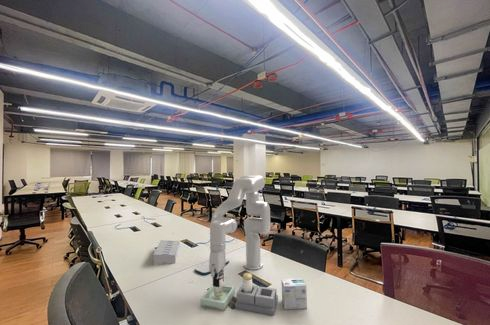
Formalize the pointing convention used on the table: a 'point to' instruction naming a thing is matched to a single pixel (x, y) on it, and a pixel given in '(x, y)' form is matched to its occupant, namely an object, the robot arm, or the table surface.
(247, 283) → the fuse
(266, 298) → the panel
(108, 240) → the table surface
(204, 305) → the parts tray
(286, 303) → the light bulb box
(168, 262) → the warehouse
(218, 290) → the fuse
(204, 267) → the external hard drive
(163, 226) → the table surface
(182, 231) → the table surface
